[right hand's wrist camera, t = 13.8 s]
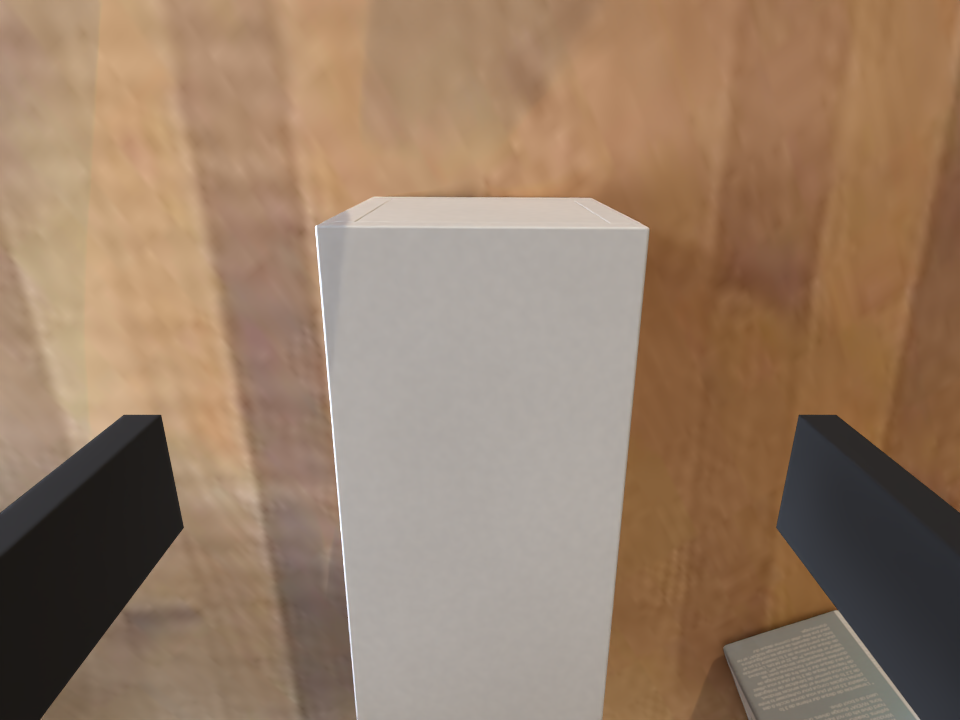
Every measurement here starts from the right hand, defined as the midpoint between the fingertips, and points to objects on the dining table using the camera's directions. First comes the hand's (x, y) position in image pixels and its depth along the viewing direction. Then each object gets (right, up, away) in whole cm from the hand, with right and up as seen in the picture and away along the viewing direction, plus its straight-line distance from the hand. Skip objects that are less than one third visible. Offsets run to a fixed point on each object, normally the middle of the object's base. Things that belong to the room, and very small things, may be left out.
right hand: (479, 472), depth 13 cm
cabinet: (0, 0, +20) cm, 20 cm away
